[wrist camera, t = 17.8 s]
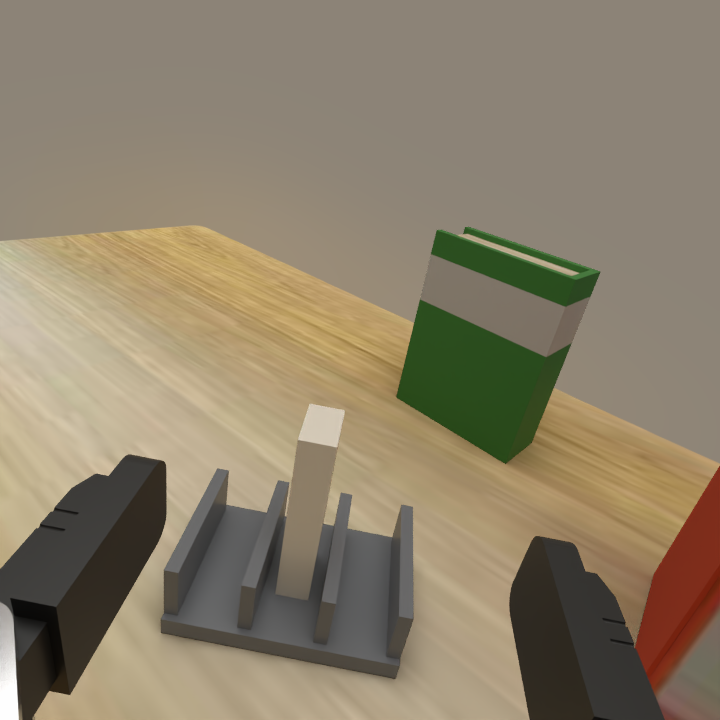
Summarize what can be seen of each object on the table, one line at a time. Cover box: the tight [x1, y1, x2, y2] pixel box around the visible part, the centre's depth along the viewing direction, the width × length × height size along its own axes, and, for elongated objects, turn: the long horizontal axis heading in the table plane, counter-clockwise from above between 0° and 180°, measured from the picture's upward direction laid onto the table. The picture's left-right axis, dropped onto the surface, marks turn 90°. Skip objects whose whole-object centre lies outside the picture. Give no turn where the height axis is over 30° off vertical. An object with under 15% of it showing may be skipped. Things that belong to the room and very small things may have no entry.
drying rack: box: [161, 469, 413, 678], centre depth 42 cm, size 12×17×6 cm
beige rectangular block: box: [275, 404, 345, 601], centre depth 39 cm, size 4×3×15 cm, turn 175°
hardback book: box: [396, 227, 600, 464], centre depth 66 cm, size 18×7×24 cm, turn 48°
